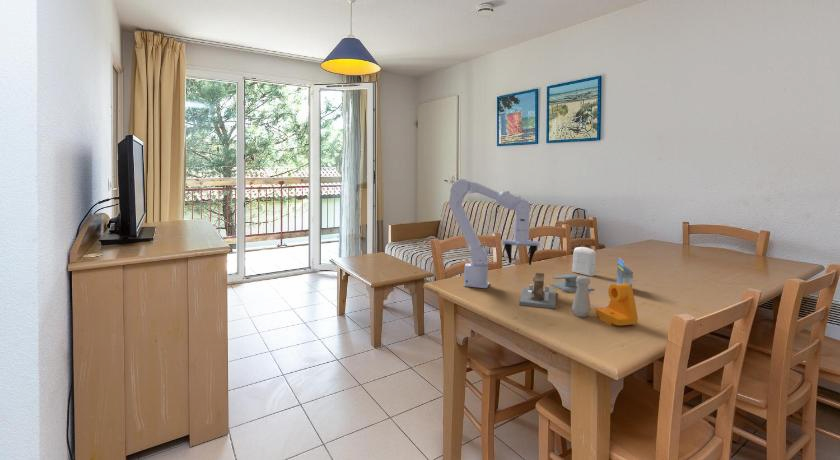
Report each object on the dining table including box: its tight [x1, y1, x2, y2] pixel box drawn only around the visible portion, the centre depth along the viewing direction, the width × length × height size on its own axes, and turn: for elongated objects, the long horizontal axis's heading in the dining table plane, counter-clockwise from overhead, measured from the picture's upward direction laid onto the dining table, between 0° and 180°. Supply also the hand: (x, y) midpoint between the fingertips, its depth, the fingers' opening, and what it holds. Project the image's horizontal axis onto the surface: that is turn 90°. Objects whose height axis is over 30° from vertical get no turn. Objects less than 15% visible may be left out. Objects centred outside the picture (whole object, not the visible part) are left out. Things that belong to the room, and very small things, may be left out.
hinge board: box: [519, 283, 557, 309], centre depth 155 cm, size 12×20×4 cm, turn 162°
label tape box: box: [616, 257, 634, 288], centre depth 167 cm, size 9×4×12 cm, turn 168°
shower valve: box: [549, 273, 594, 293], centre depth 170 cm, size 12×6×15 cm
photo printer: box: [571, 246, 597, 277], centre depth 192 cm, size 10×4×12 cm, turn 36°
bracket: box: [595, 283, 639, 326], centre depth 132 cm, size 11×7×12 cm, turn 15°
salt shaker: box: [571, 275, 591, 318], centre depth 137 cm, size 6×6×13 cm
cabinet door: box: [532, 272, 545, 301], centre depth 154 cm, size 4×12×7 cm, turn 162°
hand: (520, 263), depth 167 cm, fingers open, 7 cm apart
